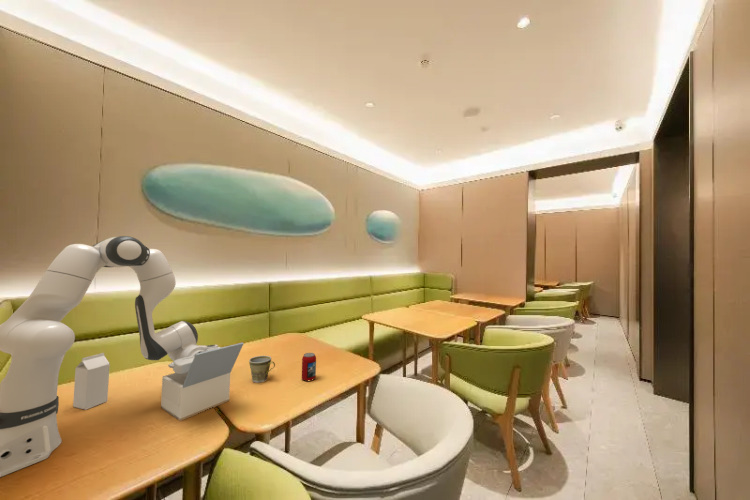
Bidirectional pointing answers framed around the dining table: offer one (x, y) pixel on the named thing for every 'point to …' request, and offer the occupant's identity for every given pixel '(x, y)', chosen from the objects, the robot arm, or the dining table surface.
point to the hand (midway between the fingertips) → (214, 364)
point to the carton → (193, 395)
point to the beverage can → (308, 366)
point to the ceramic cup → (260, 368)
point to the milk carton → (91, 382)
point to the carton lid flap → (212, 364)
